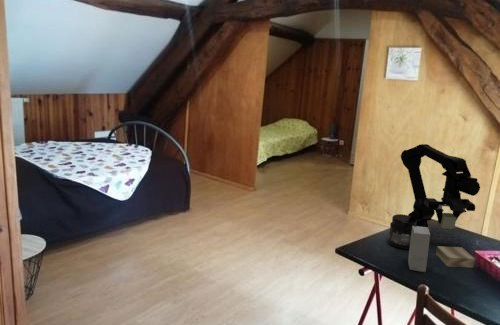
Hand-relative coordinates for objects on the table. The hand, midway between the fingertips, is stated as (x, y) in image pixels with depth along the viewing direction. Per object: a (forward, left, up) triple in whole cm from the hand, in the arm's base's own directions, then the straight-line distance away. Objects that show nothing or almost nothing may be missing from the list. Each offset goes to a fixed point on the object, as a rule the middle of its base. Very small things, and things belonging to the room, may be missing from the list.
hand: (446, 223), depth 168 cm
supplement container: (-18, -2, -10) cm, 21 cm away
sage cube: (0, 0, -1) cm, 1 cm away
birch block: (-1, -14, -10) cm, 17 cm away
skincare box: (-18, -21, -10) cm, 30 cm away
